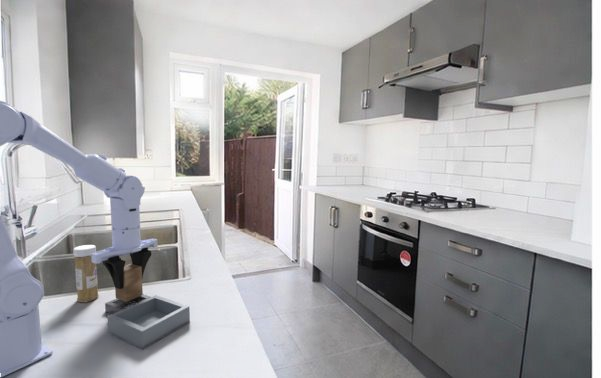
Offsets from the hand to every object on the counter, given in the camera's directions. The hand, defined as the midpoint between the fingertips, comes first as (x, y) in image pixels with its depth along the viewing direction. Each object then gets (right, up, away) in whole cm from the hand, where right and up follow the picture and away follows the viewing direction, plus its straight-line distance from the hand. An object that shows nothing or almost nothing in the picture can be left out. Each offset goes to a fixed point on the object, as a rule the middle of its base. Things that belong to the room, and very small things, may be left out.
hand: (128, 284), depth 71 cm
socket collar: (0, -6, +1) cm, 6 cm away
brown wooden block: (0, -3, 0) cm, 3 cm away
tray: (+9, -7, -7) cm, 13 cm away
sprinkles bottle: (-13, -6, +5) cm, 15 cm away
